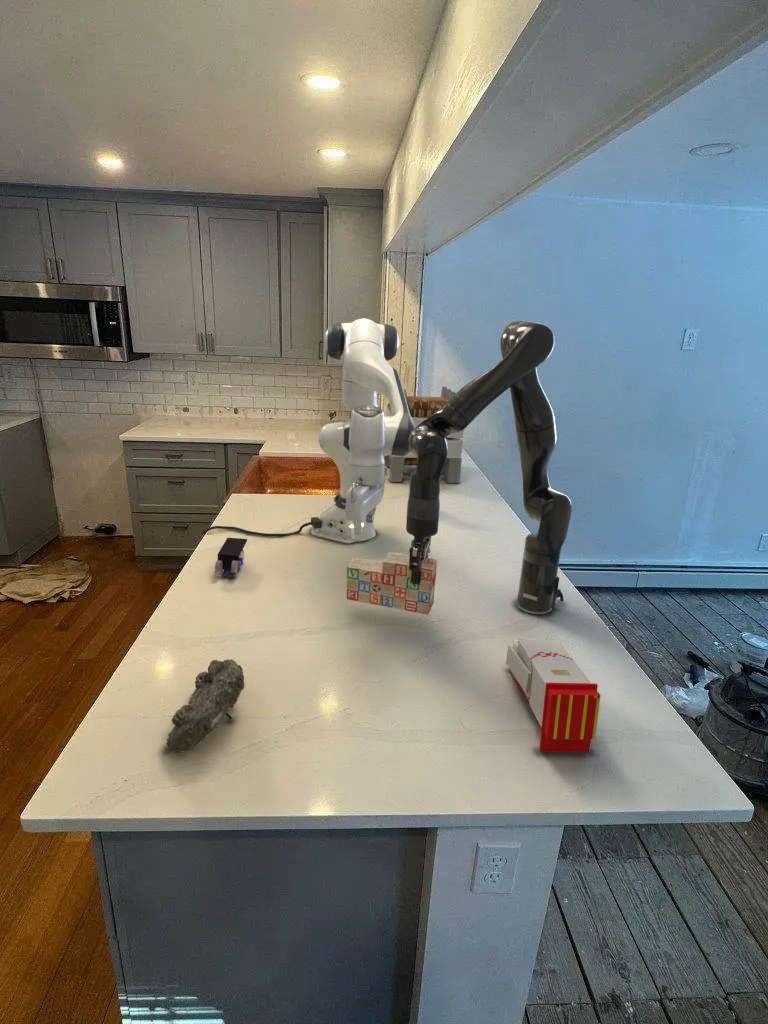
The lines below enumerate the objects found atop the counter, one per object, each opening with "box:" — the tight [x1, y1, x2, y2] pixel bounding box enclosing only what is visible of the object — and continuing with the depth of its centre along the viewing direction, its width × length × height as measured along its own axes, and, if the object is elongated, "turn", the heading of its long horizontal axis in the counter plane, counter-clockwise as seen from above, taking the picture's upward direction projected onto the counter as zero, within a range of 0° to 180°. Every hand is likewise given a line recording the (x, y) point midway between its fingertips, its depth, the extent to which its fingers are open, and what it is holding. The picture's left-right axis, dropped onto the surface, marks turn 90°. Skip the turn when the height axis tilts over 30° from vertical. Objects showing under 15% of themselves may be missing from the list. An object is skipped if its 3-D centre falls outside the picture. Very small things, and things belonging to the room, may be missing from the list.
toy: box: [505, 638, 602, 753], centre depth 114 cm, size 12×13×30 cm
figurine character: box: [214, 537, 248, 578], centre depth 166 cm, size 7×8×15 cm
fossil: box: [166, 658, 245, 754], centre depth 106 cm, size 22×10×15 cm
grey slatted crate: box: [384, 386, 465, 484], centre depth 268 cm, size 34×33×41 cm
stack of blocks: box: [346, 551, 438, 616], centre depth 140 cm, size 21×6×12 cm, turn 74°
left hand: (364, 527), depth 142 cm, fingers open, 8 cm apart
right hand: (418, 577), depth 138 cm, fingers closed on stack of blocks, 6 cm apart
